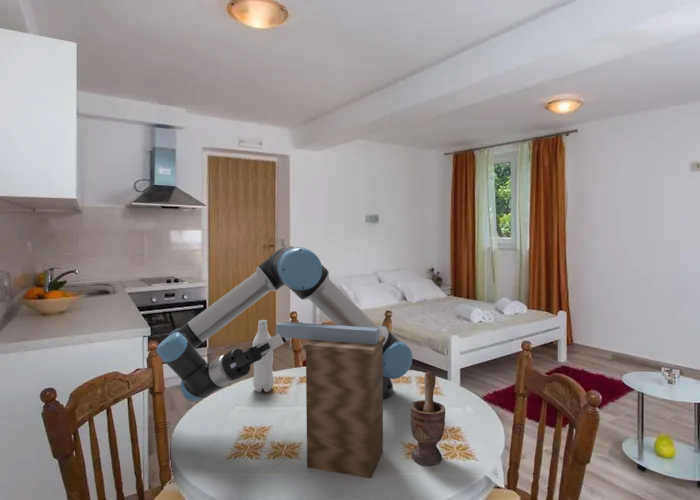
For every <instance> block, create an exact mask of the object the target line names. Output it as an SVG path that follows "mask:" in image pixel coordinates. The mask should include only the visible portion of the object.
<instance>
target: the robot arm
mask: <svg viewBox="0 0 700 500" xmlns="http://www.w3.org/2000/svg"><path fill="white" fill-rule="evenodd" d="M329 275H330V272H329V270H328V269H327V268H326V267H325V266H324V265H323V264H322V262H321V260H320V258H319V256H318V255H317V254H315V252H313V251H312V250H311V249H309V248H306V247H303V246H302V247H301V246H300V247H299V246H290V245H289V246H284V247H281V248H279V249H277V250H276V251H275V252H273V254H272V255H270V256H269V257H268V258H267V259H265V260H264V261H263V262H262V263H260V264H259V265H257V267H256V269H255V272H254V273H252V274H251V275H250V276H248V277H247V278H246V279H245V280H243V281H241V282H240V283H239V284H237V285H236V286H235V287H233V288H232V289H230V291H228V292H227V293H225V294H224V295H223V296H221V297H220V298H219V299H218V300H216V301H215V302H213V303H212V304H211V305H210V306H208V307H207V308H205V309H204V310H203V311H201V312H200V313H198V314H197V315H195V317H193V318H192V319H190V320H189V321H188V322H186V324H184V325H183V326H181V327H179V328H176V329H174V330H172V331H171V332H170V333H169V334H168V336H167V337H165V338H164V339H163V340H162V341H160V342H159V344H158V345H157V347H156V350H155V351H156V353H157V354H158V356H159V357H160V358H161V360H162V362H164V363H165V364H166V365H167V366H168V367H169V368H170V369H171V370H172V371H173V372H174V373H175V374H176V375H177V376H178V377H179V378H180V380H181V382H180V384H179V389H180V391H181V392H182V396H183V397H184V399H186V400H187V401H189V402H198V401H200V400H202V399H204V398H208V397H209V396H210V395H212V394H214V393H215V392H217V391H219V390H220V389H223V388H224V387H227V386H228V387H231V386H232V383H234V382H235V381H237V380H239V379H241V378H243V377H245V376H246V375H248V374H249V373H250V371H251V366H252V364H253V363H254V362H256V361H259V360H260V359H262V357H263V356H265V355H266V354H267V353H268V352H270V351H271V350H273V351H274V350H275V349H277V348H279V347H280V346H282V345H285V343H287V342H288V341H291V340H292V339H293V338H284V337H281V336H280V334H277V335H276V334H275V335H273V336H271V338H270V339H268V340H266V341H264V342H263V343H260V344H258V345H256V346H254V347H253V346H251V347H249V348H246V349H245V350H243V349H241V348H233V349H231V350H230V351H228V352H227V353H224V354H222V355H221V356H219V357H217V358H216V359H214V360H212V361H211V362H209V363H208V362H207V361H206V360H205V358H203V356H202V355H201V354H200V353H199V352H198V351H197V350H196V349H197V348H198V347H199V346H200V345H201V344H203V343H204V342H205V341H207V340H209V338H211V337H212V336H214V335H215V334H216V333H217V332H219V331H220V330H221V329H222V328H224V327H225V326H226V325H228V324H229V323H230V322H232V321H233V320H234V319H236V318H237V317H238V316H240V315H241V314H242V313H244V312H245V311H246V310H247V309H249V308H250V307H251V306H253V305H254V304H256V303H257V302H258V301H259V300H261V299H262V298H263V297H264V296H267V294H269V293H270V292H276V291H278V290H279V289H280V288H282V287H283V286H286V287H288V288H289V290H291V291H292V292H293V293H294V294H295V295H296V296H297V297H298V298H299V299H301V301H302V300H308V301H310V302H311V303H312V304H313V305H314V306H315V307H316V308H317V309H319V310H320V311H321V313H323V314H324V315H325V316H326V317H327V318H328V319H329V320H330V321H331V322H332V323H333V324H335V325H339V326H354V327H370V328H379V336H385V341H384V342H383V399H387V398H389V397H391V396H392V395H393V393H394V385H393V382H392V380H394V379H400V378H402V377H404V375H406V374H407V372H408V371H409V370H410V368H411V366H412V364H413V352H412V350H411V348H410V347H409V345H407V344H406V343H405V342H404V341H400V340H399V339H398V338H397V337H396V336H395V335H394V334H393V333H392V332H391V331H390V330H389V329H388V327H386V326H381V325H377V324H376V323H375V322H374V321H373V320H372V319H371V318H370V317H369V316H368V315H367V314H366V313H364V311H363V310H362V309H361V308H360V307H358V306H357V304H355V302H353V301H352V300H351V299H350V297H348V296H347V295H346V293H345V292H343V291H342V290H341V289H340V288H339V287H338V285H336V284H335V283H334V282H333V281H332V280H331V279H330V277H329ZM299 323H303V321H300V322H299Z"/></svg>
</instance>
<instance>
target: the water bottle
mask: <svg viewBox="0 0 700 500" xmlns="http://www.w3.org/2000/svg"><path fill="white" fill-rule="evenodd" d="M257 324H258V325H257V332H256V334H255V337H254V339H253V342H252V347H254V346H256V345H258V344H260V343H263V342H264V341H266V340H268V339H270V338H271V337H272V336H271V335H270V332H269V330H268V328H269V327H268V320H266V319H260V320H258V322H257ZM273 362H274V349H273V350H271V351H270V352H268V353H267V354H266V355H265V356H263V357H262V359H260V360H259V361H256V362H254V363H252V364H253V379H252V384H253V388H254V390H255V392H257V393H262V391H264V392H265V393H267V392H270V391H271V390H272V388H273V386H274V383H275V381H274V380H275V379H274V375H273Z"/></svg>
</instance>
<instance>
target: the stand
mask: <svg viewBox="0 0 700 500" xmlns="http://www.w3.org/2000/svg"><path fill="white" fill-rule="evenodd" d="M384 341H385V336H379V341H378V342H377V344H364V343H350V342H337V341H324V340H311V339H308V340H307V342H305V343H303V344H302V349H303V350H305V375H306V376H305V381H306V383H305V385H306V386H305V387H306V388H305V391H306V392H305V393H306V397H305V399H306V401H305V402H306V406H305V407H306V408H305V409H306V410H305V411H306V412H305V413H306V468H307V469H308V468H309V469H315V470H320V471H326V472H332V473H333V472H334V473H337V474H344V475H349V476H357V477H361V478H367V479H372V478H373V476H374V474H375V471H376V470H377V467H378V465H379V462H380V460H381V458H382V456H383V453H384V398H383V342H384Z"/></svg>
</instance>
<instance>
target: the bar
mask: <svg viewBox="0 0 700 500" xmlns="http://www.w3.org/2000/svg"><path fill="white" fill-rule="evenodd" d="M277 334H280V336H281V337H284V338H292V339H301V340H324V341H337V342H350V343H364V344H377V342H378V341H379V328H370V327H354V326H339V325H336V324H335V325H333V324H320V323H307V322H306V323H303V322H302V323H300V322H291V321H290V322H289V321H288V322H287V321H280V322H278V323H276V324H275V335H277Z"/></svg>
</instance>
